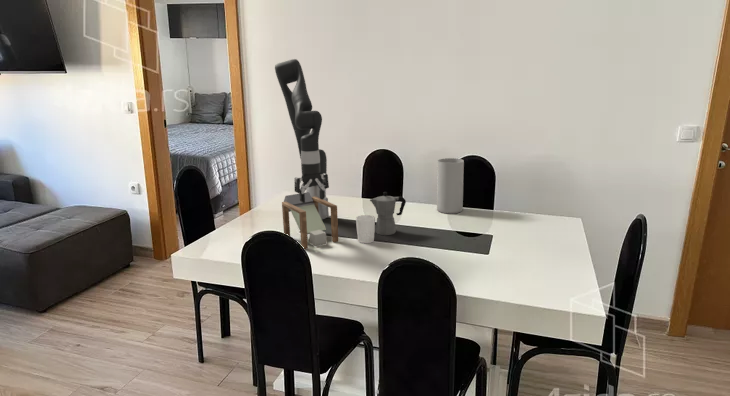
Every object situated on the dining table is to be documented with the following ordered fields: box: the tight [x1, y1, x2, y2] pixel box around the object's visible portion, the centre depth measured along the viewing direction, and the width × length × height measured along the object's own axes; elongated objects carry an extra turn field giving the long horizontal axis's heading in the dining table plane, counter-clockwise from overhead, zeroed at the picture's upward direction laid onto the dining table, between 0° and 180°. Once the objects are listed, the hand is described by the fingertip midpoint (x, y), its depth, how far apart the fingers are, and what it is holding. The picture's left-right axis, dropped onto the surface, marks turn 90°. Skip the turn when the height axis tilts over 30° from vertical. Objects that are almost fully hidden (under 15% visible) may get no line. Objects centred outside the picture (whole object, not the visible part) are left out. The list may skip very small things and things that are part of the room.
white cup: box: [355, 214, 376, 244], centre depth 212 cm, size 8×8×10 cm
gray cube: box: [308, 230, 327, 248], centre depth 211 cm, size 5×5×5 cm
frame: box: [281, 196, 339, 250], centre depth 215 cm, size 16×19×16 cm
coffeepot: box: [369, 191, 407, 236], centre depth 222 cm, size 15×9×18 cm, turn 92°
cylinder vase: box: [436, 157, 465, 215], centre depth 251 cm, size 12×12×25 cm
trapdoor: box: [283, 191, 327, 235], centre depth 218 cm, size 20×11×5 cm
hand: (312, 200), depth 209 cm, fingers open, 8 cm apart
